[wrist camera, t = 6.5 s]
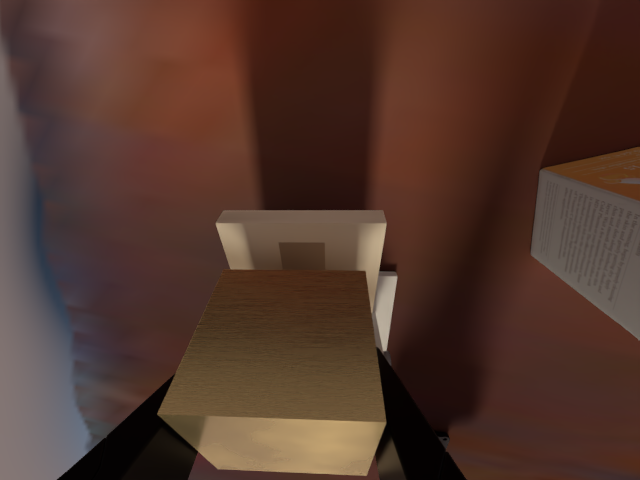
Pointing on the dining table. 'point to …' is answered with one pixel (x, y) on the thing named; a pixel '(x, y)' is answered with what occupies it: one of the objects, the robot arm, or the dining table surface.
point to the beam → (305, 240)
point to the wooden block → (282, 374)
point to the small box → (594, 231)
